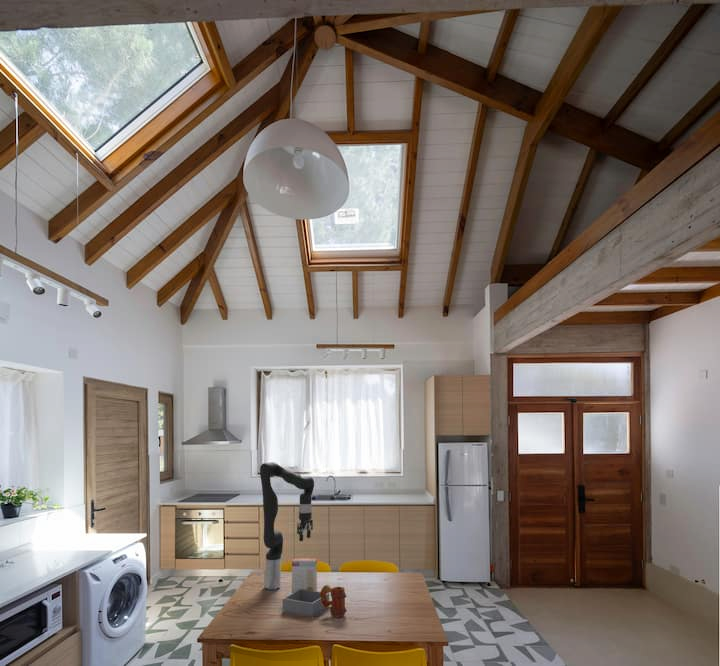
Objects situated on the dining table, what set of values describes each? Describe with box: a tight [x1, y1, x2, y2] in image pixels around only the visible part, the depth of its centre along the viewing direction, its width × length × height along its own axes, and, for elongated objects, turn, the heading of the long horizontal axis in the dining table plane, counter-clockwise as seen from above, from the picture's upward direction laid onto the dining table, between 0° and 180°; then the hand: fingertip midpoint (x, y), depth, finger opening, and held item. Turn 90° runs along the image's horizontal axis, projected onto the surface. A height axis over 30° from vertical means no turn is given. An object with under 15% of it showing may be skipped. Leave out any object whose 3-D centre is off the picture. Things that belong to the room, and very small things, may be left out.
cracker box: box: [291, 557, 318, 594], centre depth 330 cm, size 14×6×21 cm, turn 84°
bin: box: [282, 589, 330, 618], centre depth 307 cm, size 19×19×7 cm
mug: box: [320, 584, 348, 619], centre depth 299 cm, size 15×8×15 cm, turn 71°
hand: (304, 539), depth 333 cm, fingers open, 8 cm apart
